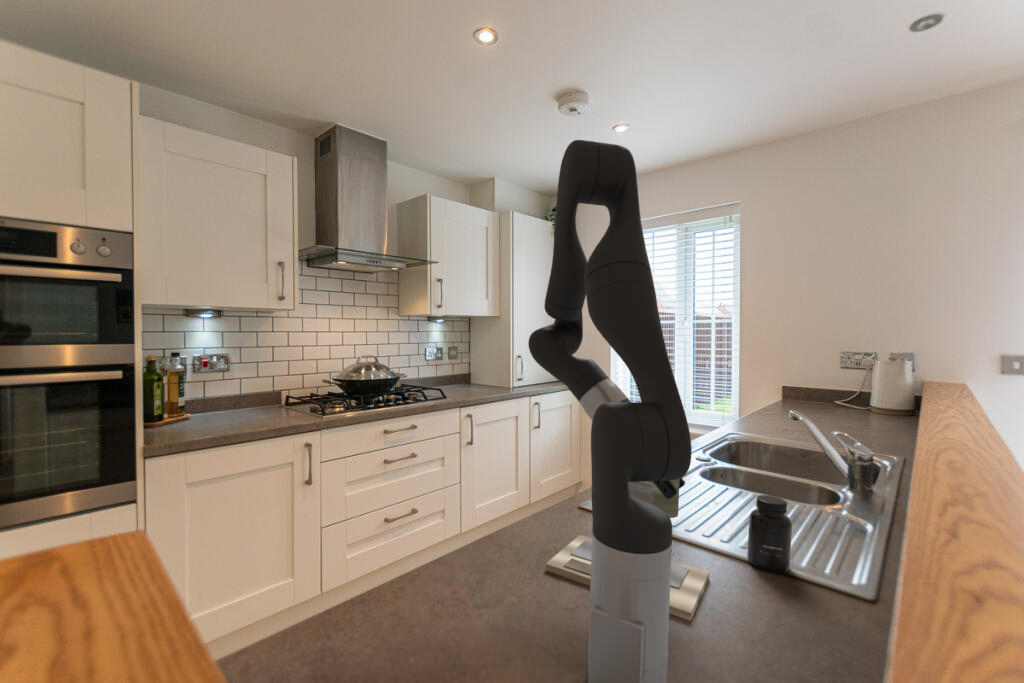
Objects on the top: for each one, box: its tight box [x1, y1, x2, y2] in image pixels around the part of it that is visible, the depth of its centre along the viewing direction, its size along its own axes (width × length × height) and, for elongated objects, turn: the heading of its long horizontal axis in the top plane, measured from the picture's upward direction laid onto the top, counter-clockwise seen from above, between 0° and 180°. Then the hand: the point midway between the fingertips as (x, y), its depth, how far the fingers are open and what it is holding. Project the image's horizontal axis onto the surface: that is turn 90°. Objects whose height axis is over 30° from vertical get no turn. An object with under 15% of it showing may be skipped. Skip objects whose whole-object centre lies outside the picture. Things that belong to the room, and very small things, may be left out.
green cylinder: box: [651, 479, 680, 519], centre depth 78 cm, size 4×4×8 cm
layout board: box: [545, 534, 710, 622], centre depth 80 cm, size 14×24×1 cm, turn 57°
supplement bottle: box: [746, 494, 793, 574], centre depth 84 cm, size 7×7×12 cm
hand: (676, 491), depth 77 cm, fingers closed on green cylinder, 4 cm apart
